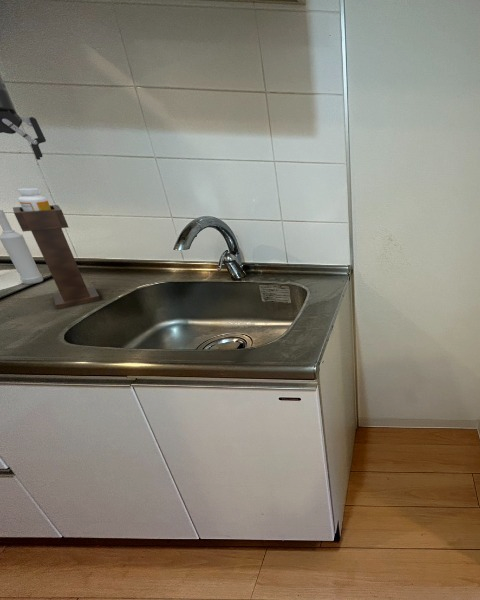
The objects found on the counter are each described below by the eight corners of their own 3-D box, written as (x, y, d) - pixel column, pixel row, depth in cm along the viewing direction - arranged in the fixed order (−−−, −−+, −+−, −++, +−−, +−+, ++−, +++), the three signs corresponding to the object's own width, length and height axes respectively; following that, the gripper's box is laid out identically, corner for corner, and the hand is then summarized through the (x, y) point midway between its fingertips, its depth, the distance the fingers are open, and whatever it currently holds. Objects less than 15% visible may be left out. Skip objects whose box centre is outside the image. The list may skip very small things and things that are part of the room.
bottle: (42, 277, 113) (8, 208, 102) (45, 281, 110) (11, 210, 99) (21, 281, 109) (-17, 209, 98) (24, 285, 106) (-14, 212, 95)
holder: (57, 309, 94) (10, 213, 81) (54, 298, 100) (10, 207, 87) (100, 299, 101) (64, 210, 88) (95, 290, 107) (60, 204, 94)
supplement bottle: (56, 220, 93) (42, 187, 89) (57, 224, 90) (42, 189, 85) (30, 222, 90) (14, 187, 85) (29, 226, 86) (12, 190, 82)
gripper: (25, 92, 82) (52, 158, 89) (-66, 81, 72) (-28, 157, 79) (27, 91, 78) (54, 160, 85) (-70, 79, 68) (-29, 159, 75)
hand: (15, 159), depth 82 cm, fingers open, 8 cm apart
